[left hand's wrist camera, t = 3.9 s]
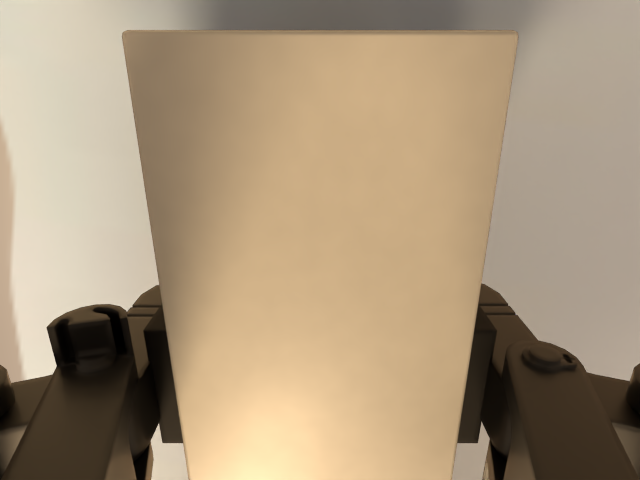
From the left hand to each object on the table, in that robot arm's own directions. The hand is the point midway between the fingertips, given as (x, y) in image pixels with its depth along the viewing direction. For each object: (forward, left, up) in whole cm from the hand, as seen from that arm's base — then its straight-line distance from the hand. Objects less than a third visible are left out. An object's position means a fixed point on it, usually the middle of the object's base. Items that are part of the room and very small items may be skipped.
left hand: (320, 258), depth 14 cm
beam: (+25, 0, -1) cm, 25 cm away
